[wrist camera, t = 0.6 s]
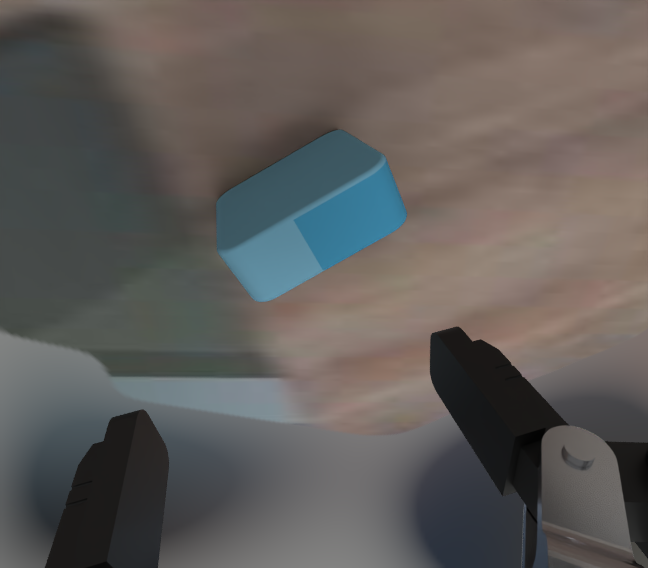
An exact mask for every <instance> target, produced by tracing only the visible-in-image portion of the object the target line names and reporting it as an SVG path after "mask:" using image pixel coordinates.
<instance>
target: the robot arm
mask: <svg viewBox="0 0 648 568" xmlns="http://www.w3.org/2000/svg"><path fill="white" fill-rule="evenodd" d="M430 375H431V380H432V383H433V385H434V388H435V390H436V392H437V393H438V395H439V397H440V398H441V400H442V401H443V403H444V404H445V406H446V408H447V409H448V411H449V412H450V414H451V416H452V417H453V419H454V420H455V422H456V423H457V425H458V426H459V428H460V430H461V431H462V433H463V434H464V436H465V438H466V439H467V441H468V442H469V444H470V445H471V447H472V449H473V450H474V452H475V454H476V455H477V456H478V458H479V460H480V461H481V463H482V464H483V466H484V468H485V469H486V471H487V472H488V474H489V476H490V477H491V479H492V480H493V482H494V483H495V485H496V487H497V488H498V490H499V491H500V493H501V495H502V496H506V495H509V494H512V493H515V492H517V493H518V494H519V496H520V497H521V499H522V500H523V501H524V503H525V504H524V513H523V543H522V544H523V545H522V568H644V567H643V566H642V565H639V564H637V563H636V561H635V559H634V557H633V553H632V547H631V542H635V543H636V544H637V545H638V547H639V548H640V549H641V550H642V552H643V553H644V554H645V556H646V557H647V558H648V443H634V442H607V441H603V440H602V439H601V438H599V437H598V436H596V435H595V434H593V433H591V432H589V431H587V430H585V429H582V428H579V427H574V426H570V425H568V424H567V423H566V422H565V421H564V420H563V419H562V418H561V417H560V416H559V414H558V413H557V412H556V411H555V410H554V409H553V408H552V407H551V406H550V405H549V404H548V403H547V401H546V400H545V399H544V398H543V397H542V396H541V395H540V394H539V393H538V392H537V391H536V390H535V389H534V387H533V386H532V385H531V384H530V383H529V382H528V381H527V380H526V379H525V378H524V377H522V375H521V373H520V372H519V371H518V370H517V369H516V368H515V367H514V366H512V365H511V362H510V361H509V360H508V359H507V358H506V357H505V356H504V355H503V354H502V353H501V352H500V350H499V349H497V348H495V347H493V346H492V345H490V344H488V343H486V342H485V341H483V340H481V339H480V340H477V341H473V342H472V340H471V339H470V338H469V337H468V336H467V335H466V333H465V332H464V331H463V330H462V329H461V328H460V327H453V328H450V329H446V330H442V331H438V332H435V333H432V334H431V340H430ZM168 470H169V458H168V452H167V448H166V445H165V443H164V441H163V440H162V438H161V436H160V434H159V433H158V431H157V429H156V427H155V426H154V424H153V422H152V421H151V419H150V417H149V415H148V414H147V412H146V411H145V410H139V411H135V412H131V413H127V414H124V415H120V416H116V417H113V418H112V419H111V420H110V422H109V424H108V427H107V431H106V434H105V438H104V441H103V442H99V443H95V444H93V445H92V446H91V448H90V449H89V451H88V452H87V454H86V455H85V456H84V458H83V459H82V461H81V462H80V464H79V465H78V468H77V471H76V474H75V477H74V480H73V483H72V490H71V491H70V493H69V495H68V499H67V502H66V509H64V511H63V514H62V517H61V520H60V523H59V526H58V529H57V532H56V535H55V538H54V542H53V545H52V548H51V551H50V554H49V557H48V560H47V563H46V566H45V568H158V560H159V551H160V542H161V533H162V524H163V515H164V506H165V497H166V487H167V479H168Z"/></svg>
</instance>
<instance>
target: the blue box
mask: <svg viewBox="0 0 648 568" xmlns="http://www.w3.org/2000/svg"><path fill="white" fill-rule="evenodd" d="M406 217H407V212H406V209H405V206H404V204H403V201H402V199H401V196H400V193H399V191H398V188H397V186H396V183H395V180H394V178H393V175H392V173H391V170H390V168H389V165H388V162H387V160H386V157H385V156H384V155H383V154H382V153H380V152H378V151H377V150H375V149H373V148H372V147H370V146H368V145H367V144H365V143H363V142H362V141H360V140H358V139H357V138H355V137H353V136H352V135H350V134H348V133H347V132H345V131H343V130H335V131H332V132H329V133H327V134H325V135H323V136H321V137H319V138H318V139H316V140H314V141H313V142H311V143H309V144H307V145H306V146H304V147H302V148H300V149H299V150H297V151H295V152H294V153H292V154H290V155H288V156H287V157H285V158H283V159H282V160H280V161H278V162H276V163H275V164H273V165H271V166H269V167H268V168H266V169H264V170H263V171H261V172H259V173H257V174H256V175H254V176H252V177H250V178H249V179H247V180H245V181H244V182H242V183H240V184H238V185H237V186H235V187H233V188H232V189H230V190H228V191H227V192H226V193H224V194H223V195H222V196H221V197H220V198H219V199H218V201H217V203H216V220H217V252H218V254H219V255H220V256H221V258H222V259H223V260H224V261H225V263H226V264H227V265H228V267H229V268H230V269H231V271H232V272H233V273H234V275H235V276H236V277H237V279H238V280H239V281H240V283H241V284H242V285H243V287H244V288H245V289H246V291H247V292H248V293H249V295H250V296H251V297H252V298H253V299H254V300H255V301H258V302H265V301H269V300H272V299H274V298H276V297H278V296H280V295H282V294H284V293H285V292H287V291H289V290H291V289H292V288H294V287H296V286H298V285H300V284H301V283H303V282H305V281H307V280H308V279H310V278H312V277H314V276H316V275H317V274H319V273H321V272H323V271H324V270H326V269H328V268H330V267H332V266H333V265H335V264H337V263H339V262H340V261H342V260H344V259H346V258H348V257H349V256H351V255H353V254H355V253H356V252H358V251H360V250H362V249H364V248H365V247H367V246H369V245H371V244H372V243H374V242H376V241H378V240H380V239H381V238H383V237H385V236H387V235H388V234H390V233H392V232H394V231H395V230H397V229H398V228H399V227H400V226H401V225H402V224H403V223H404V221H405V220H406Z"/></svg>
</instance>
